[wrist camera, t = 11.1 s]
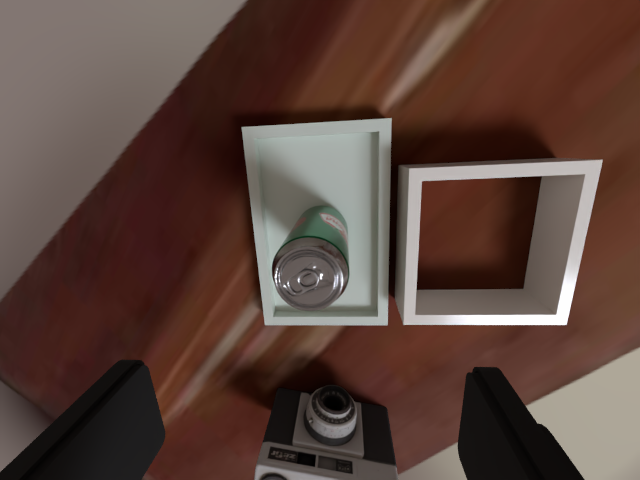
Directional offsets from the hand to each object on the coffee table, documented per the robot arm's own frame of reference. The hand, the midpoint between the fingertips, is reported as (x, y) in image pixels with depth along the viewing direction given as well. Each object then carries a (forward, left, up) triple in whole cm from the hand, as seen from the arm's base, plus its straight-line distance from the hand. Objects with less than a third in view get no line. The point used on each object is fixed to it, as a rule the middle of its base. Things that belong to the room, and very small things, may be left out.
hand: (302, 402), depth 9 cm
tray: (+1, -1, -22) cm, 22 cm away
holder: (+2, +13, -22) cm, 26 cm away
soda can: (+1, -1, -22) cm, 22 cm away
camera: (+23, -1, -23) cm, 32 cm away
